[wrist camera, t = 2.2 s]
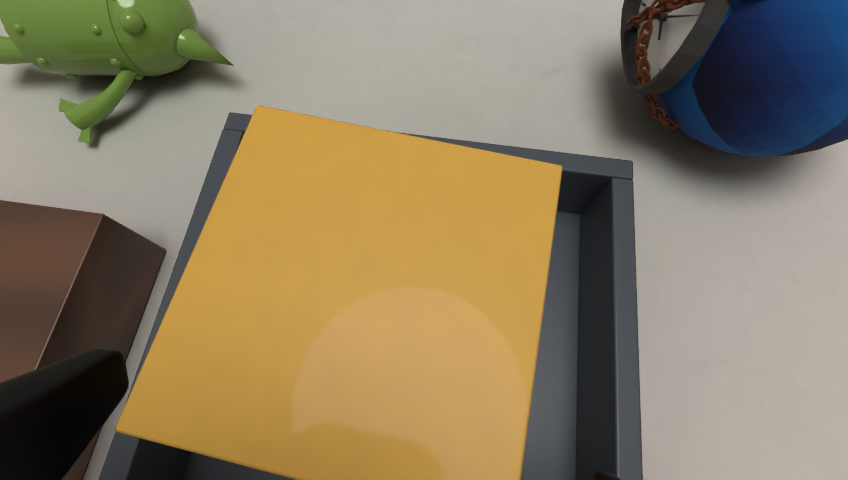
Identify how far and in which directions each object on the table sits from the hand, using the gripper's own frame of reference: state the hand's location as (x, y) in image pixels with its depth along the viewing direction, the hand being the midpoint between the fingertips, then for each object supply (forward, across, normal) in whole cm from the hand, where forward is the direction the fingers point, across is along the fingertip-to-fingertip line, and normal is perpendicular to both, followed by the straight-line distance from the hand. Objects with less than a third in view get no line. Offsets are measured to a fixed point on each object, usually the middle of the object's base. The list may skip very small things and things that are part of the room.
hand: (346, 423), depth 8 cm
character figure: (+16, +17, -3) cm, 24 cm away
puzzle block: (+8, 0, +5) cm, 9 cm away
